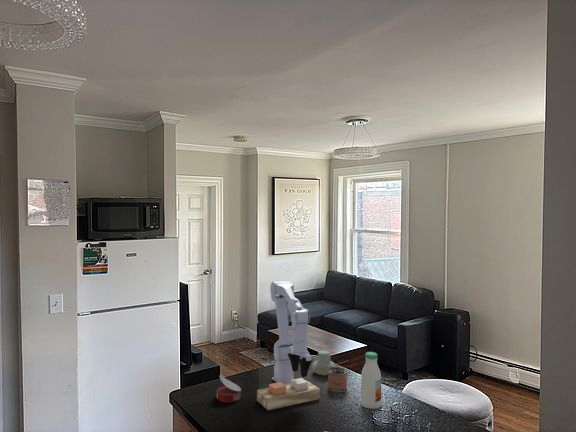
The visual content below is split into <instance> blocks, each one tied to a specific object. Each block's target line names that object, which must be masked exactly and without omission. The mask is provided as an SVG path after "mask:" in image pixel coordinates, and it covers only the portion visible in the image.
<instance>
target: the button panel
mask: <svg viewBox="0 0 576 432" xmlns="http://www.w3.org/2000/svg"><path fill="white" fill-rule="evenodd" d="M305 380H306V381H307V382H308V389H304V390H300V391H296V390H295V389H293V388H292V387H291V384H286V385H285V386H286V393H285V394H280V395H276V396H274V395H273V394H271V393H270V392H269V387H266V388H261V389H257V390H256V401H257V402H258V403H259V404H260V405H262V406H263V408H264V409H266V410H267V411H271V410H276V409H277V410H278V409H280V408H284V407H289V406H294V405H299V404H301V403H308V402H311V401H312V402H313V401H316V400H320V399H321V397H320V396H321V393H320V392H321V388H319V387H318V386H316V385H315V384H313V383H311V382H310V381H308V380H307V379H305Z"/></svg>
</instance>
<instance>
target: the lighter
mask: <svg viewBox="0 0 576 432" xmlns="http://www.w3.org/2000/svg"><path fill="white" fill-rule="evenodd" d="M335 366H336V365H335ZM335 366H330V370H333V371H328V375H327V377H328V378H327V391H328V390H329V392H335V393H337V392H339V393H345V392H347V391H348V389H347V380H348V379H347V377H348V372H347V371H345V367H344V366H341V365H337V366H336V367H335ZM334 370H335V371H334Z"/></svg>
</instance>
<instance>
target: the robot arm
mask: <svg viewBox="0 0 576 432" xmlns="http://www.w3.org/2000/svg"><path fill="white" fill-rule="evenodd" d="M269 290H270V298H271V301H273V302H274V304H275V310H276V320H277V322H276V323H277V329H278V337H279V338H278V340H277V341H276V342H275V343H274V345H273V358H274V360H275V362H274V364H273V377H271V380H273V381H275V383H278V382H281V383H282V384H284V385H286V384H291V380H293V379H295V378H294V376H295V375H294V374H295V372H297V371H299V368H300V375H301V377H300V378H305V377H307V376H308V373H309V369H310V367H311V366H312V364H313V359H312V355H311V354H310V352H309V351H308V324H310V322H311V313H310V311H309V310H308V309H307V308H304V306H303V305H302V303H301V301H300V300H299V299H298V298H296V297H295V294H294V292H295V285H294V282H293V281H292V280H288V281H285V280H284V281H283V280H282V281H274V280H273V281H272V282H271V284H270V289H269ZM288 311H289V313H290V320H291V328H292V338H291V334H290V326H289V325H290V324H289V319H288Z"/></svg>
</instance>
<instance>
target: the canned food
mask: <svg viewBox="0 0 576 432" xmlns="http://www.w3.org/2000/svg"><path fill="white" fill-rule="evenodd" d="M219 380H220V382H221V383H222V384H223V385H222V386H219V387H218V388H217V389H216V400H218V402H221V403H233V402H237V401H239V400H241V399H242V388H241V387H240V386H239V385H238V384H237V383H234V382H232V381H231V380H229V379H227V378H225V377H224V376H223V375H222V374H220V375H219Z"/></svg>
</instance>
